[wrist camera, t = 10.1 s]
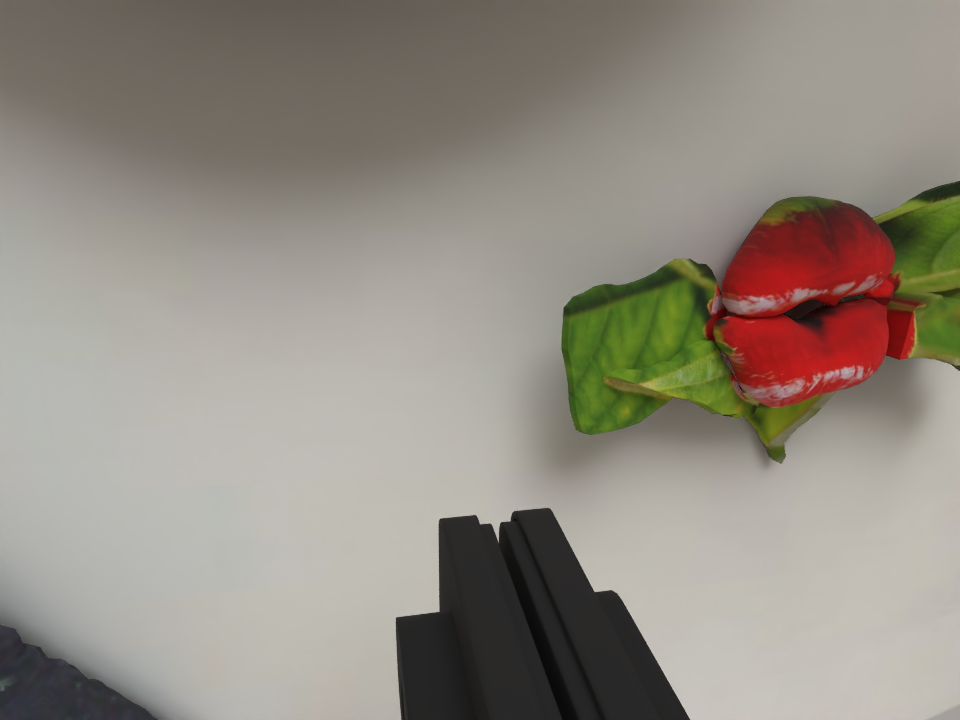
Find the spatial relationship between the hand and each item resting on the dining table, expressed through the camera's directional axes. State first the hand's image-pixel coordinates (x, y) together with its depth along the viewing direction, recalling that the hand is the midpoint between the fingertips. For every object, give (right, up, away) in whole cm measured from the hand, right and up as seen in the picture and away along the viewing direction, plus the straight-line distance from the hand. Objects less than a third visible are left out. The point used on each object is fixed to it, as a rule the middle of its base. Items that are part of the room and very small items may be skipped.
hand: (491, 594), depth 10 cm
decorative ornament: (+9, +5, +12) cm, 16 cm away
